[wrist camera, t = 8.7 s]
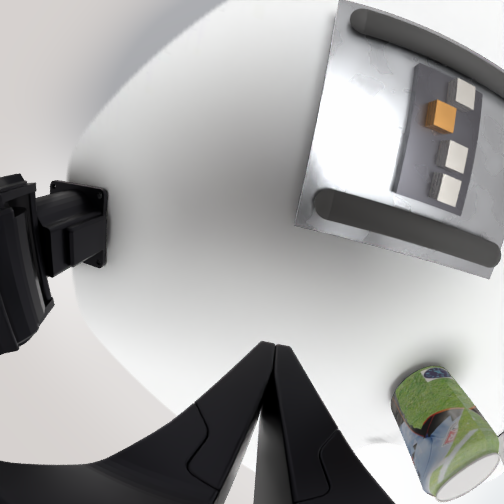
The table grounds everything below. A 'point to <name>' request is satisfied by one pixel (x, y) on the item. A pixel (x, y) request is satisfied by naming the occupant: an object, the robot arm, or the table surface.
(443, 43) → the dark grey rounded bar
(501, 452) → the skincare box
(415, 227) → the dark grey rounded rod
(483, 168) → the breaker panel
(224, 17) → the table surface
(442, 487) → the beverage can
